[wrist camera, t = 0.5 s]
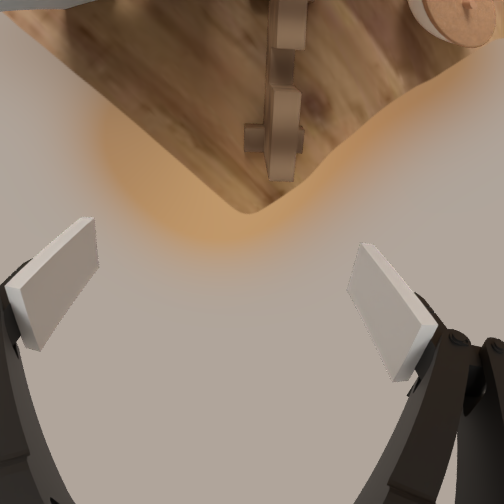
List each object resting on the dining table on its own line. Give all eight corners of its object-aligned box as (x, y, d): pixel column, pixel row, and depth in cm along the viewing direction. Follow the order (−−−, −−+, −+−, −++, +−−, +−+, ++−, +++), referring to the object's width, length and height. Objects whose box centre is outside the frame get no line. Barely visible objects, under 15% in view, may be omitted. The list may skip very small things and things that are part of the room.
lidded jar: (414, -46, 20) (455, -57, 13) (470, 7, 24) (515, 12, 16) (379, 4, 26) (417, 0, 19) (439, 56, 29) (483, 68, 22)
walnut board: (248, -24, 24) (252, -45, 17) (311, -19, 25) (335, -36, 17) (244, 146, 38) (245, 180, 30) (299, 147, 38) (315, 182, 31)
